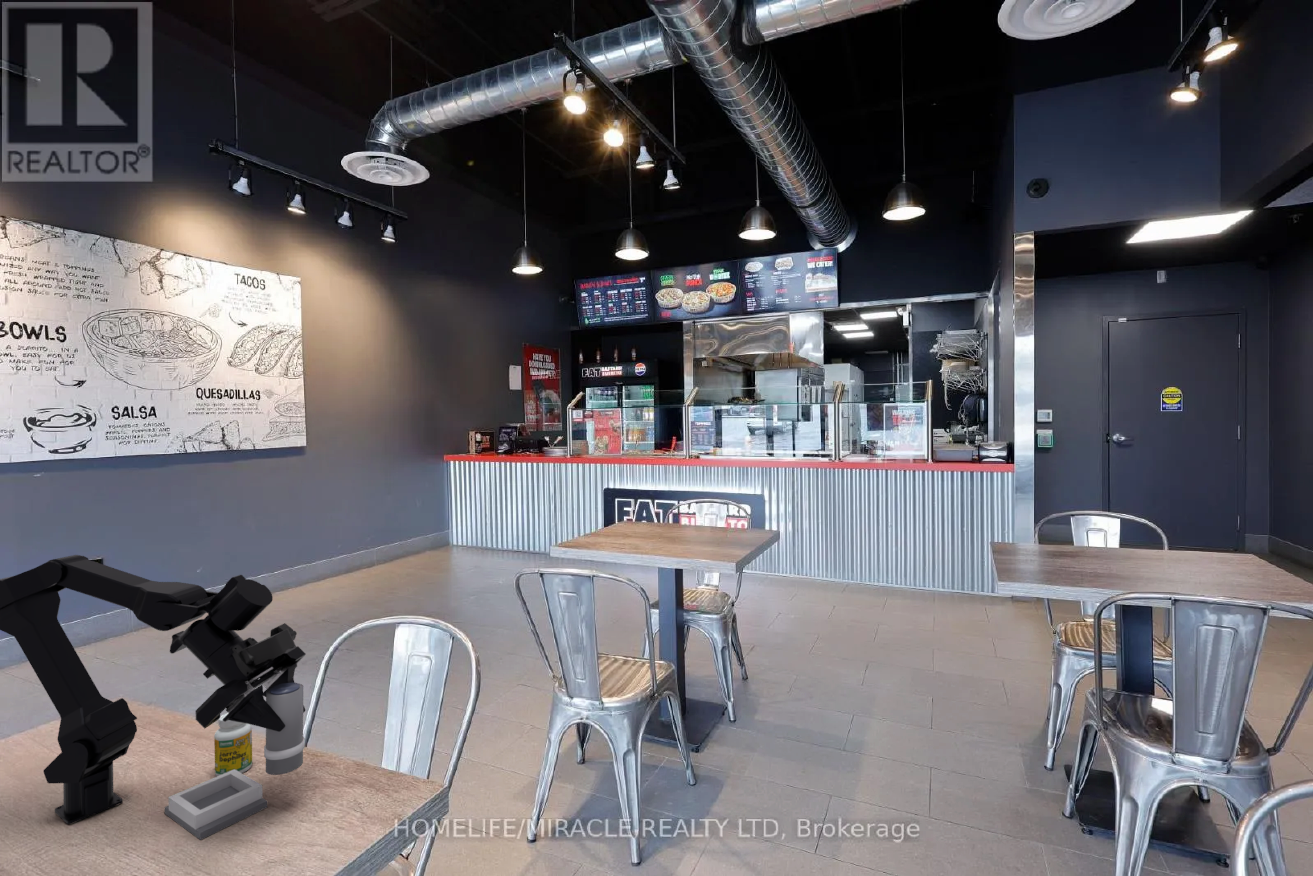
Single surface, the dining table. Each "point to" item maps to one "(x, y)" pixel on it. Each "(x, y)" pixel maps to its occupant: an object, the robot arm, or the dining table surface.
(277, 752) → the lens
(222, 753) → the supplement bottle
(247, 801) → the grey white tray
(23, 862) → the dining table surface
